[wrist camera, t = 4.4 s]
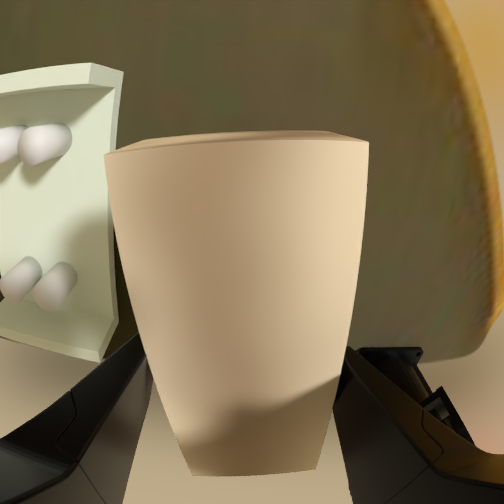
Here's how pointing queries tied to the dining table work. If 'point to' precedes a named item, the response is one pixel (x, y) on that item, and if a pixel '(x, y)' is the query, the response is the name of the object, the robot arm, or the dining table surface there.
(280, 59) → the dining table surface
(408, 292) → the dining table surface
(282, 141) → the beige tapered block
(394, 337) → the dining table surface
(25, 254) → the pale green pegged panel
